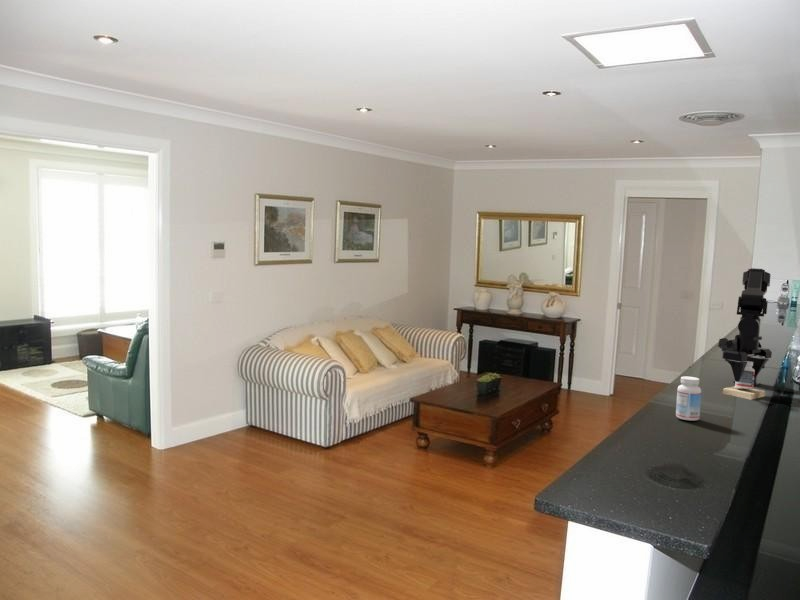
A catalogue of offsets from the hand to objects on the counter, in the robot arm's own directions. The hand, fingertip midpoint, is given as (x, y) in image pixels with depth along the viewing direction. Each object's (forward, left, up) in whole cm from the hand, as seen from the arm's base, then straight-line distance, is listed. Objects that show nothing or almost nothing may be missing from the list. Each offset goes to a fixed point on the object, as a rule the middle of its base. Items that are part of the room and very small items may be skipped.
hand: (745, 380), depth 206 cm
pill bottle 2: (0, 0, -3) cm, 3 cm away
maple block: (0, 0, -6) cm, 6 cm away
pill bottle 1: (+44, +9, -5) cm, 45 cm away
